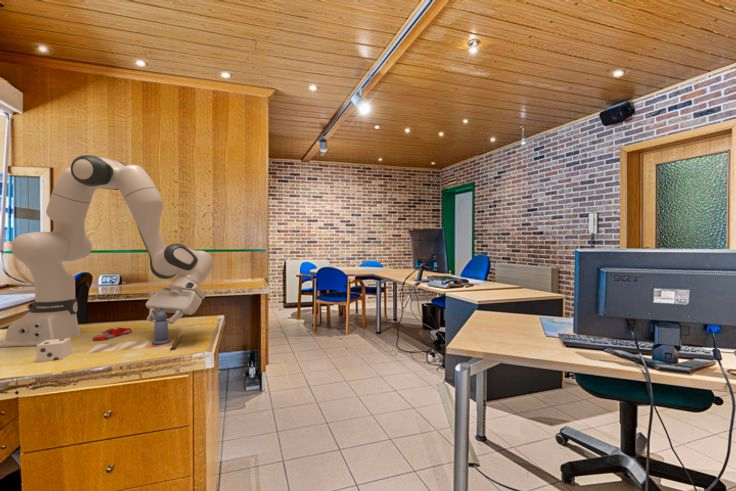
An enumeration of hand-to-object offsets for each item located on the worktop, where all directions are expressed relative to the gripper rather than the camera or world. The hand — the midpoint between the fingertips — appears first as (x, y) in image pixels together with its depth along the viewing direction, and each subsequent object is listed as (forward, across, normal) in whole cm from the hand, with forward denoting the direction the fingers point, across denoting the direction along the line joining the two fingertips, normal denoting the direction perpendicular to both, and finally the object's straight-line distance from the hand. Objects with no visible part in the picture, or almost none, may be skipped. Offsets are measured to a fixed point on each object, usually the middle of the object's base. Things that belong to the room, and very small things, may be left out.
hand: (159, 321), depth 120 cm
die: (+21, -17, -9) cm, 29 cm away
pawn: (+5, 0, +6) cm, 7 cm away
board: (+9, -6, +3) cm, 11 cm away
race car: (+6, -24, +7) cm, 26 cm away
